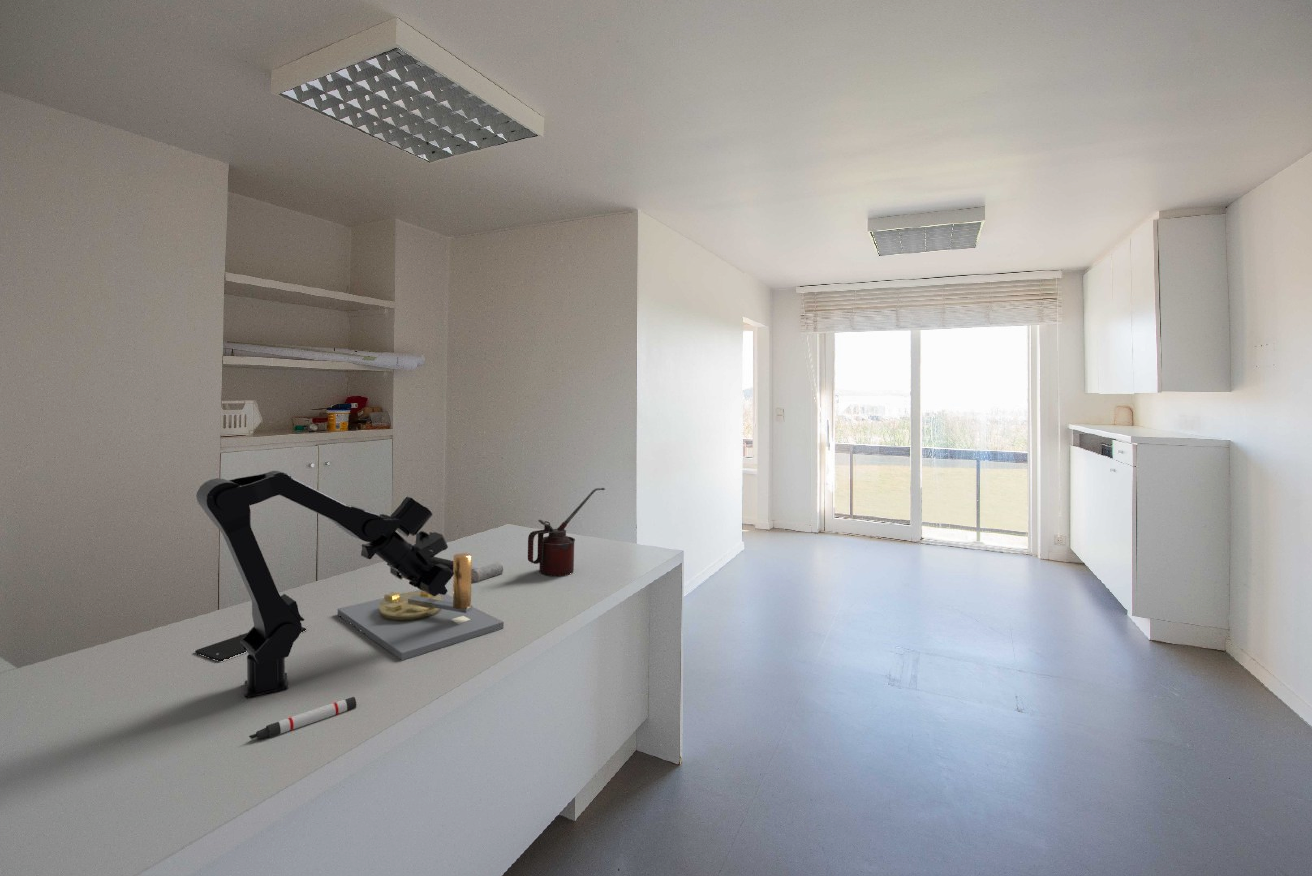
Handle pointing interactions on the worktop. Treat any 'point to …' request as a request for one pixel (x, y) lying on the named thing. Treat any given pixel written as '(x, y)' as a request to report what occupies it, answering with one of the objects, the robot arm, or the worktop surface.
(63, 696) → the worktop surface
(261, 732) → the marker
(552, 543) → the oil can
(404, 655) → the grey rectangular board
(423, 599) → the brass wheel crank mechanism
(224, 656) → the cell phone
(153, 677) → the worktop surface
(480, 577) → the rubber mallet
